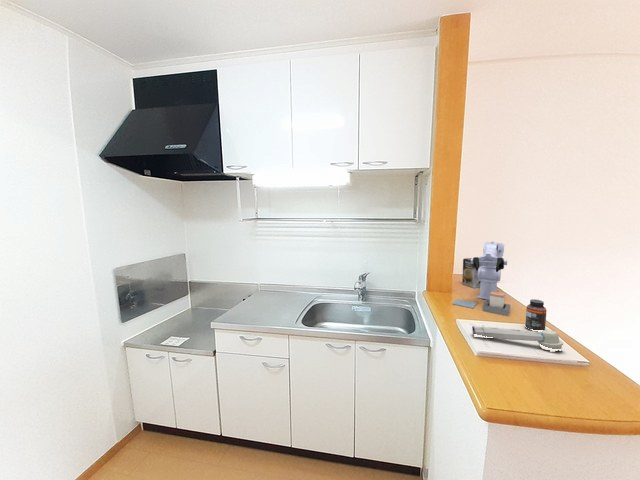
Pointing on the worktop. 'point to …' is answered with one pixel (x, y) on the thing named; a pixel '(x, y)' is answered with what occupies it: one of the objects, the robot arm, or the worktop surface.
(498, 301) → the beige pink box
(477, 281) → the coffee box
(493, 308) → the frame
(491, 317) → the worktop surface
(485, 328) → the angled head flashlight
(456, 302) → the rubber mat
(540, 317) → the supplement bottle
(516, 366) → the worktop surface
